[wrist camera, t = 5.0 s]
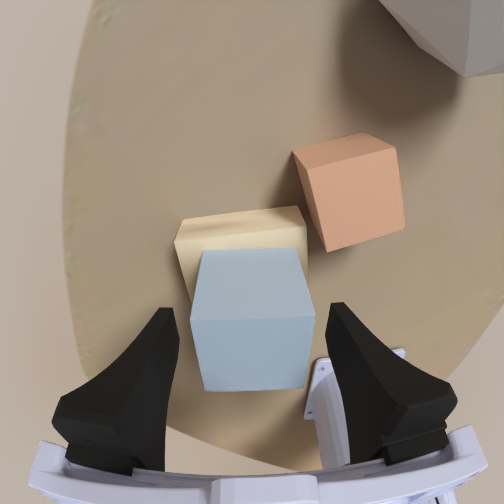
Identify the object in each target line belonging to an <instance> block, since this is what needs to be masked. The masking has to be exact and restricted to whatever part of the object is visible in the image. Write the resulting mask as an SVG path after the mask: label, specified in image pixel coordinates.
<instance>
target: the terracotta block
mask: <svg viewBox="0 0 504 504" xmlns="http://www.w3.org/2000/svg"><path fill="white" fill-rule="evenodd" d="M292 152H293V155H294V159H295V162H296V166H297V169H298V173H299V176H300V180H301V183H302V187H303V191H304V194H305V198H306V202H307V206H308V209H309V213H310V217H311V219H312V221H313V224H314V226H315V228H316V230H317V232H318V234H319V236H320V238H321V240H322V243H323V245H324V247H325V249H326V251H327V252H330V251H334V250H337V249H340V248H344V247H347V246H350V245H354V244H357V243H360V242H364V241H367V240H370V239H373V238H377V237H380V236H383V235H386V234H390V233H393V232H396V231H399V230H402V229H405V223H404V211H403V201H402V192H401V183H400V176H399V168H398V161H397V155H396V149H395V147H394V146H392V145H390V144H388V143H385V142H383V141H381V140H379V139H377V138H375V137H373V136H370V135H368V134H366V133H364V132H361V133H357V134H353V135H349V136H345V137H341V138H337V139H333V140H329V141H325V142H321V143H317V144H314V145H310V146H306V147H303V148H299V149H296V150H292Z"/></svg>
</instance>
